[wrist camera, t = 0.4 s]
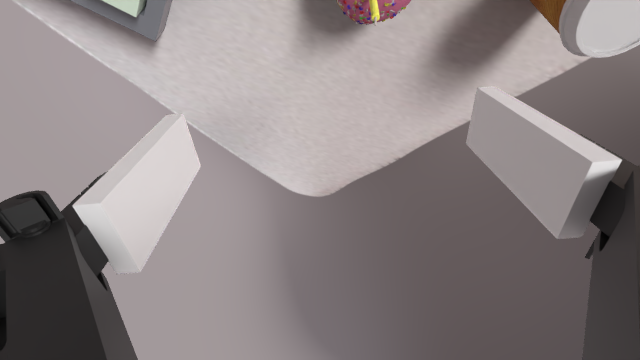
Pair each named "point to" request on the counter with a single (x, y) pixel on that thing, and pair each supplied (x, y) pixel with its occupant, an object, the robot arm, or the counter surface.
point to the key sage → (128, 5)
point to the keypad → (145, 23)
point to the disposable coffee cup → (594, 25)
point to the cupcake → (371, 9)
